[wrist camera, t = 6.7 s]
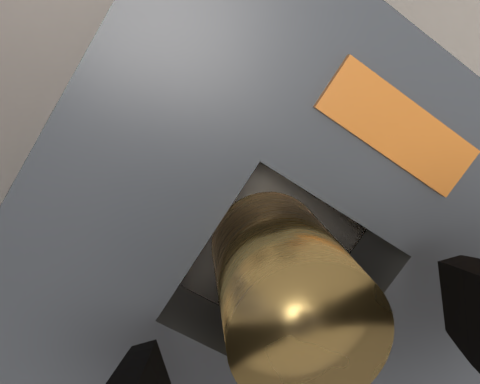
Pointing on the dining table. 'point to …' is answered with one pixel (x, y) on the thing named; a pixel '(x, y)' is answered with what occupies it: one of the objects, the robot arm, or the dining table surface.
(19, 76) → the dining table surface
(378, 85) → the hole board
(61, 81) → the dining table surface
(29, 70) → the dining table surface
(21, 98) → the dining table surface
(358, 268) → the brass peg
